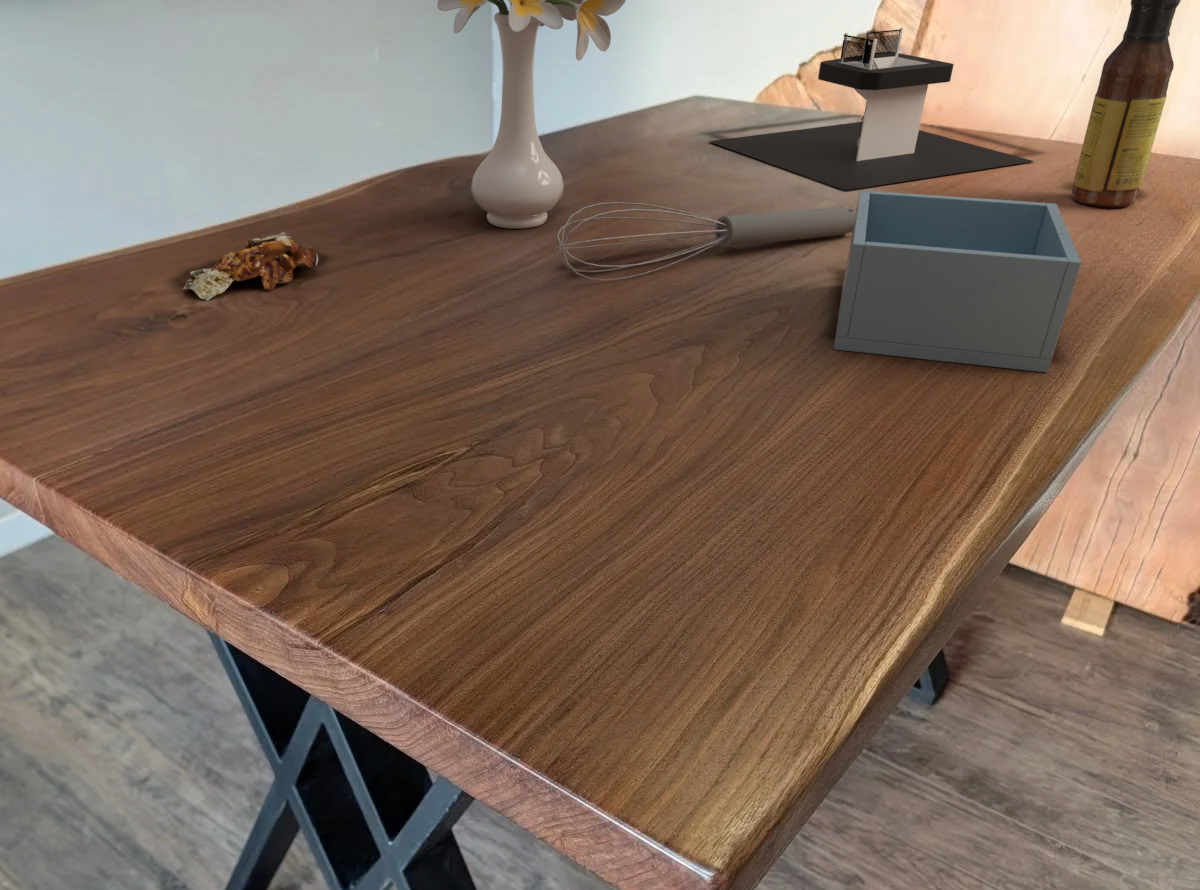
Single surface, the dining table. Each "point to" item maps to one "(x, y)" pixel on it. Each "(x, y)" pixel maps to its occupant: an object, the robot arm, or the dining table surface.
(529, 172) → the flower vase
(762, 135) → the black-topped pedestal
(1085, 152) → the sauce bottle
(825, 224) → the kitchen whisk
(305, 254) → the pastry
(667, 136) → the dining table surface
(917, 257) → the open box
